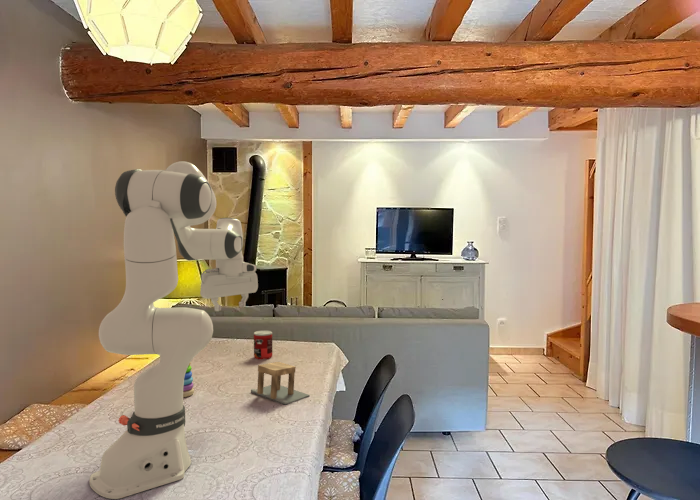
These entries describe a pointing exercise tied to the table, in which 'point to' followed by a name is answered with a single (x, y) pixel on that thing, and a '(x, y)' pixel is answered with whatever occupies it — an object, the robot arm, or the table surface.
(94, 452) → the table surface
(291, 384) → the stool
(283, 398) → the mat
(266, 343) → the canned food
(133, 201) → the robot arm
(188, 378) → the stacking toy
